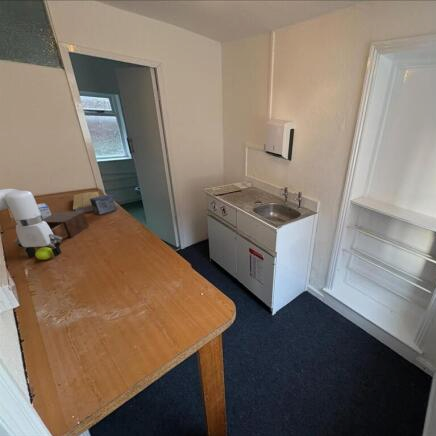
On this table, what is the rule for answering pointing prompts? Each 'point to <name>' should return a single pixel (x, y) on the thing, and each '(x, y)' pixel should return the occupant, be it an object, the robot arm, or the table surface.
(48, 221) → the cabinet
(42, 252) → the ball
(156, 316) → the table surface
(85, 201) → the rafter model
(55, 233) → the drawer
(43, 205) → the medicine box
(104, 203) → the small box
